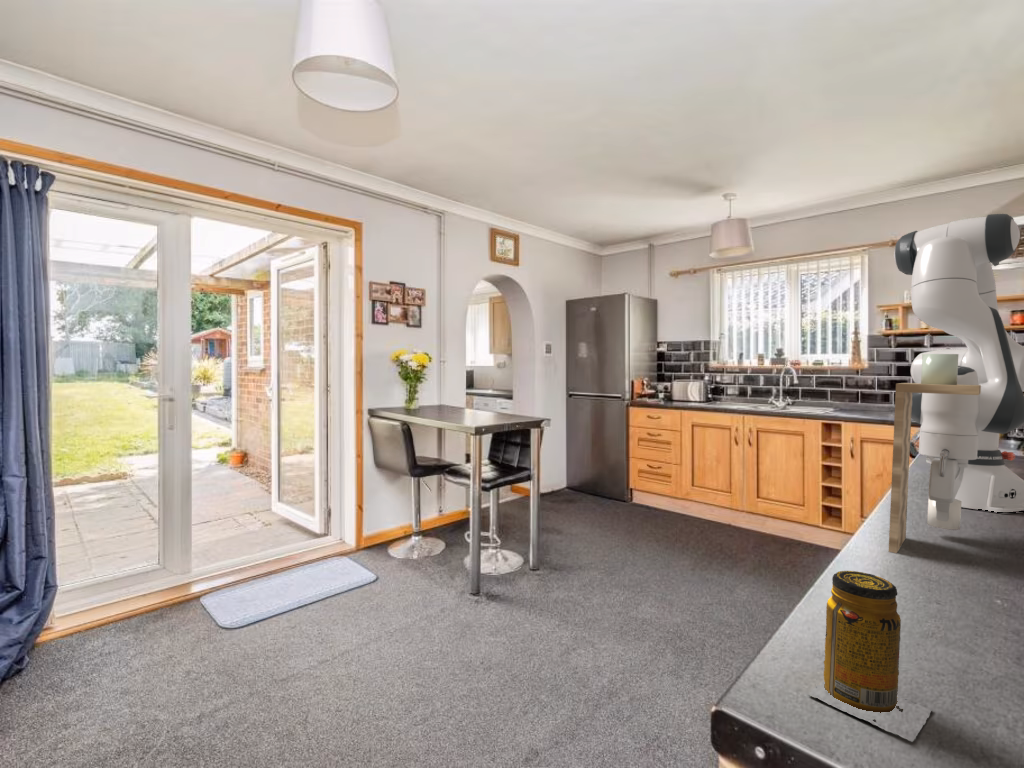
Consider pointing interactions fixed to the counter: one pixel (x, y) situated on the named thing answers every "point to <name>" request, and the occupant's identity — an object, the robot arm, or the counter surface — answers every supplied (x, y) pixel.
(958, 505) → the cream rounded cylinder
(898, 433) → the oak counter shelf
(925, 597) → the counter surface
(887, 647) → the condiment
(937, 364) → the pale green cylinder
